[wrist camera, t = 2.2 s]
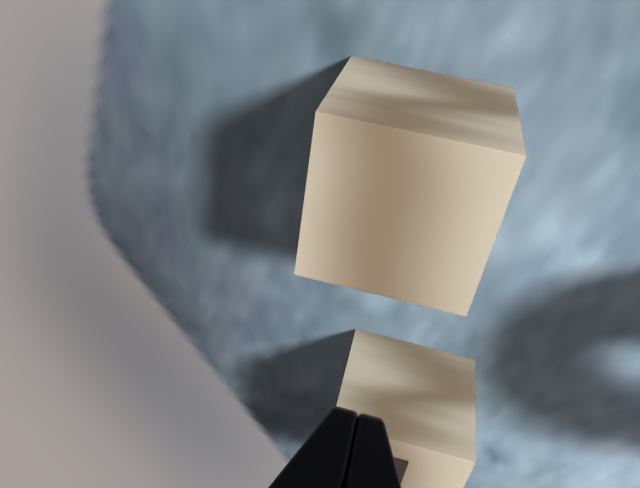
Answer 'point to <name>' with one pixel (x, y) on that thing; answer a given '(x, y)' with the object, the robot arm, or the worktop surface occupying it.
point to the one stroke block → (416, 406)
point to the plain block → (408, 183)
